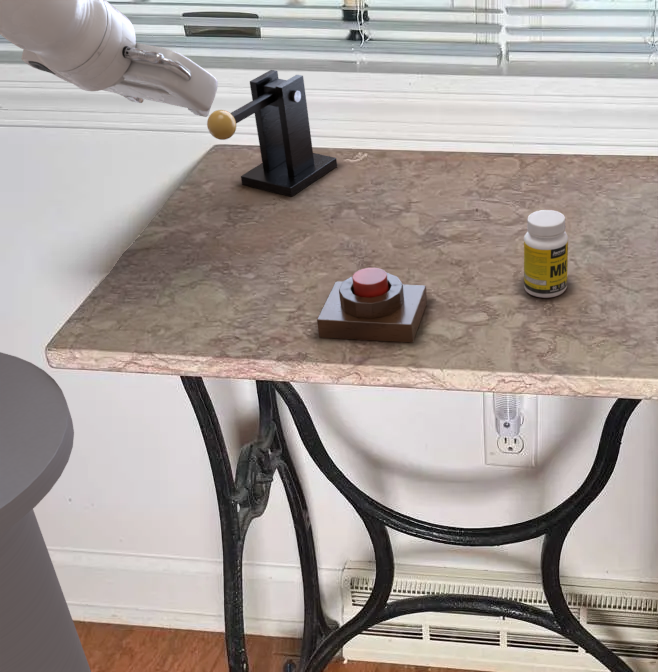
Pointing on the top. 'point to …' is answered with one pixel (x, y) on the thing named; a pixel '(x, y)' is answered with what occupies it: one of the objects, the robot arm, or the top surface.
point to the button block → (373, 312)
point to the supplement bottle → (545, 254)
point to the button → (370, 282)
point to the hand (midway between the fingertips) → (171, 102)
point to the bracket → (285, 140)
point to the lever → (241, 112)
